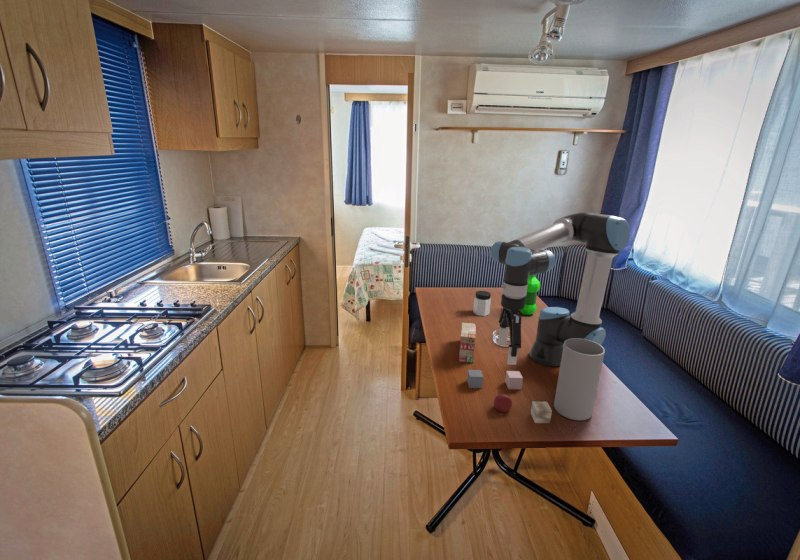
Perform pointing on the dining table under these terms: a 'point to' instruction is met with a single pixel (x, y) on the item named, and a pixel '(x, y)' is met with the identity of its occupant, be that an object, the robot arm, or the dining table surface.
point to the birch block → (541, 412)
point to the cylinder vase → (578, 378)
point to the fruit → (502, 402)
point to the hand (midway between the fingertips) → (506, 354)
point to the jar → (482, 303)
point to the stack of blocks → (467, 342)
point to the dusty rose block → (513, 380)
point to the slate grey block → (475, 379)
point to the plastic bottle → (531, 295)
